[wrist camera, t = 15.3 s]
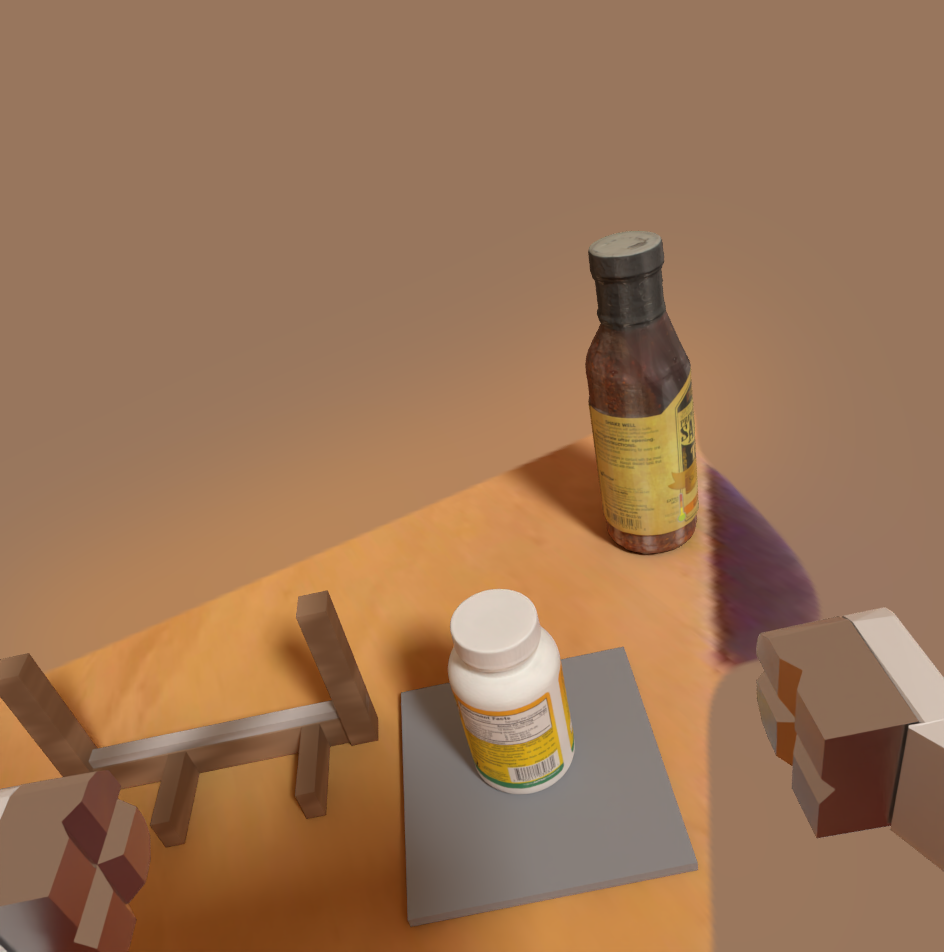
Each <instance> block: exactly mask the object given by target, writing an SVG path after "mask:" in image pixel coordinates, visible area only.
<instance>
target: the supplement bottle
mask: <svg viewBox="0 0 944 952" xmlns="http://www.w3.org/2000/svg"><path fill="white" fill-rule="evenodd" d="M450 630H451V635H452V639H453V643H454V647H453V649H452V652H451V654H450V657H449V662H448V676H449V682H450V685H451V689H452V692H453V695H454V698H455V701H456V705H457V708H458V711H459V714H460V718H461V721H462V725H463V728H464V731H465V735H466V738H467V741H468V745H469V748H470V751H471V754H472V757H473V760H474V763H475V766H476V769H477V771H478V773H479V775H480V776H481V777H482V778H483V780H484V781H485V782H487V783H488V784H489V785H491V786H492V787H494V788H496V789H498V790H500V791H504V792H506V793H510V794H530V793H535V792H539V791H542V790H544V789H546V788H548V787H550V786H551V785H553V784H554V783H556V782H557V781H558V780H559V779H560V778H561V777H562V776H563V775H564V774H565V773H566V771H567V770H568V768H569V766H570V764H571V762H572V759H573V756H574V751H575V741H574V733H573V728H572V722H571V717H570V711H569V706H568V700H567V694H566V688H565V683H564V676H563V671H562V664H561V659H560V654H559V651H558V648H557V645H556V643H555V641H554V640H553V638H552V637H551V635H550V634H549V633H548V632H547V631H546V630H545V629H544V628H542V627H541V626H540V623H539V620H538V615H537V611H536V608H535V606H534V604H533V603H532V602H531V601H530V600H529V599H528V598H527V597H526V596H525V595H523V594H521V593H519V592H516V591H512V590H508V589H492V590H486V591H483V592H480V593H477V594H475V595H473V596H471V597H469V598H468V599H466V600H465V601H463V602H462V603H461V604H460V605H459V606H458V608H457V609H456V610H455V612H454V614H453V616H452V618H451V623H450Z"/></svg>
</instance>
